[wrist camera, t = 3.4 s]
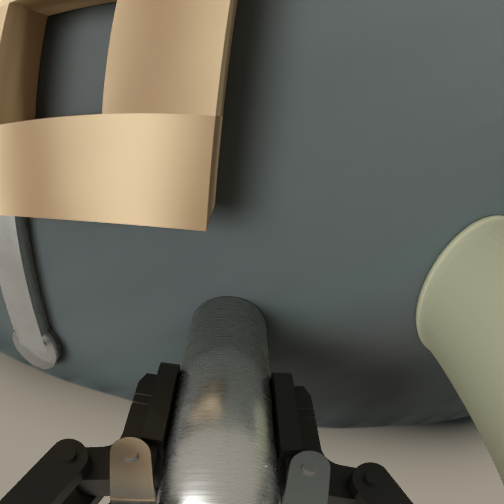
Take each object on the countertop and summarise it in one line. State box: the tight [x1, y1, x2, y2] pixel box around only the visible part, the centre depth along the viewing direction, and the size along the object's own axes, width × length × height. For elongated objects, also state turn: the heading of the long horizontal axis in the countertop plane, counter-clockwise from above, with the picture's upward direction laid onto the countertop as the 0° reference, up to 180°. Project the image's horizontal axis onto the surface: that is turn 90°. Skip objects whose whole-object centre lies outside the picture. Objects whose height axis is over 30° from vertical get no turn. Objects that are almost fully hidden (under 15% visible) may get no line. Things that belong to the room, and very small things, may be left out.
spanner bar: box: [0, 215, 61, 369], centre depth 14 cm, size 11×3×1 cm, turn 174°
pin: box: [157, 296, 281, 504], centre depth 10 cm, size 4×4×11 cm
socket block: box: [0, 0, 238, 231], centre depth 8 cm, size 12×12×3 cm
